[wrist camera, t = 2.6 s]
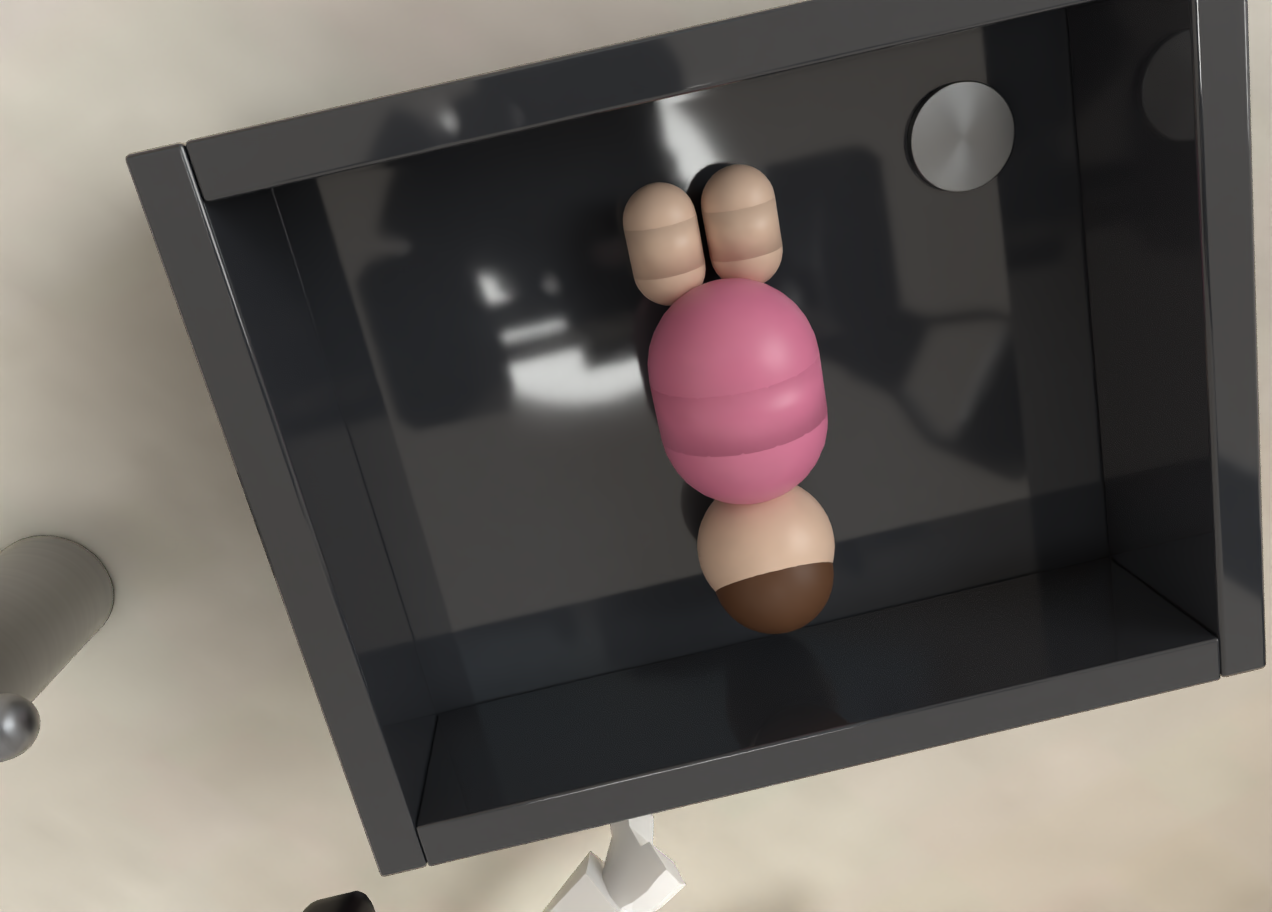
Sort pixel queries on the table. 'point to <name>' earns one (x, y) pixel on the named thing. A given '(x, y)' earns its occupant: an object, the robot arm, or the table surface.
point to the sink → (627, 424)
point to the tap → (43, 625)
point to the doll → (737, 393)
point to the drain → (961, 136)
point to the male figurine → (622, 875)
